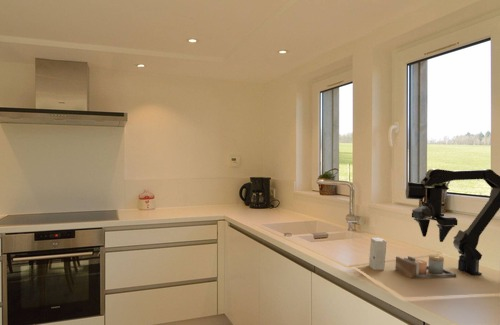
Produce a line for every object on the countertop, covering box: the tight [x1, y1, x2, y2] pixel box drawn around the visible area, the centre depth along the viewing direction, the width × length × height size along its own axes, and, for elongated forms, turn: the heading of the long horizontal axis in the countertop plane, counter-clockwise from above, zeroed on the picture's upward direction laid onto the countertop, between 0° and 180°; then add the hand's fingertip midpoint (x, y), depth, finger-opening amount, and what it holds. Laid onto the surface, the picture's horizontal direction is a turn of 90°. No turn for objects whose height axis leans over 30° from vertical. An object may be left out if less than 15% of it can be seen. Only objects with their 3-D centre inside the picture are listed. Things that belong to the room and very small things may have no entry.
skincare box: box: [368, 237, 387, 271], centre depth 137 cm, size 6×4×12 cm
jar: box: [415, 258, 428, 275], centre depth 132 cm, size 5×5×4 cm
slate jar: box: [427, 254, 445, 274], centre depth 133 cm, size 5×5×6 cm
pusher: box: [403, 256, 419, 275], centre depth 131 cm, size 1×7×6 cm, turn 12°
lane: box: [395, 256, 457, 280], centre depth 132 cm, size 18×10×6 cm, turn 102°
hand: (432, 239), depth 141 cm, fingers open, 9 cm apart
